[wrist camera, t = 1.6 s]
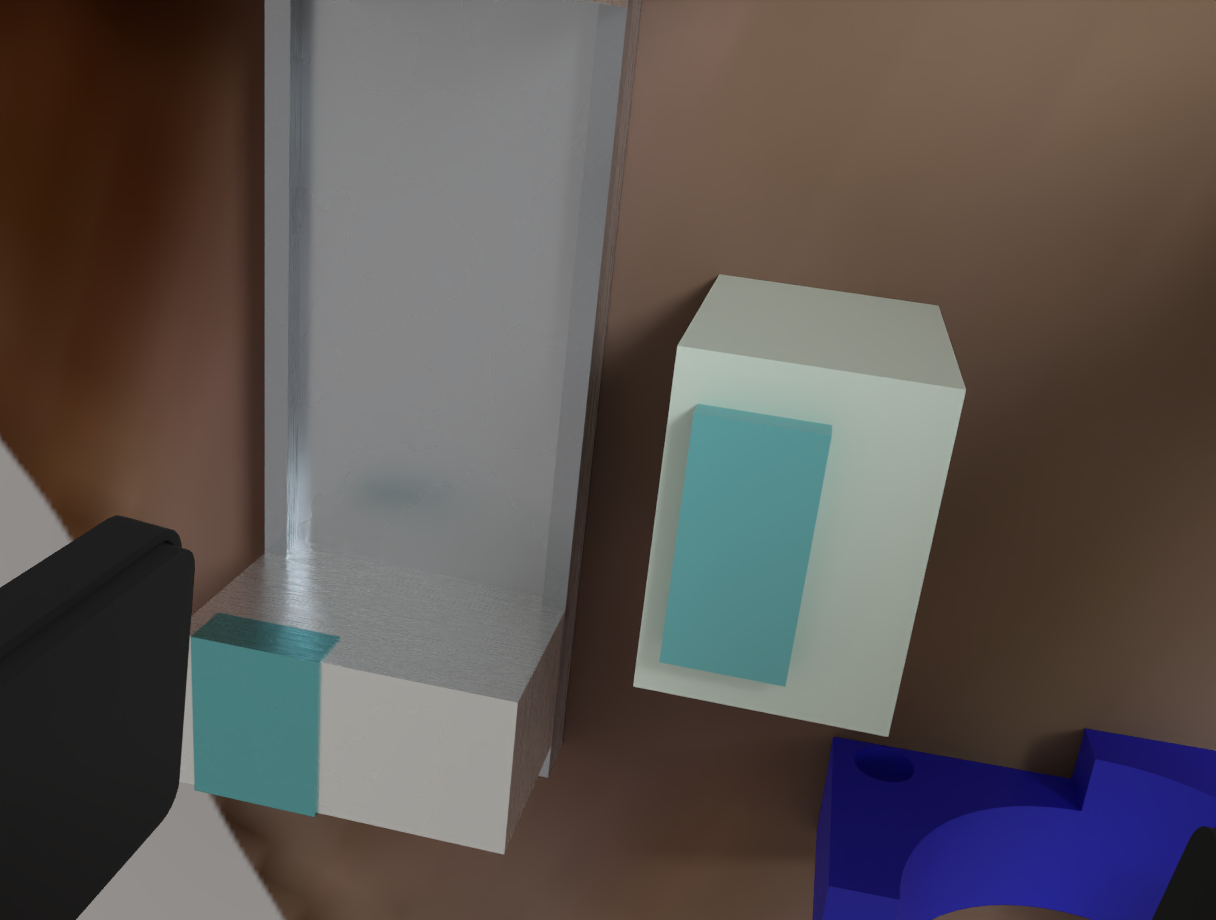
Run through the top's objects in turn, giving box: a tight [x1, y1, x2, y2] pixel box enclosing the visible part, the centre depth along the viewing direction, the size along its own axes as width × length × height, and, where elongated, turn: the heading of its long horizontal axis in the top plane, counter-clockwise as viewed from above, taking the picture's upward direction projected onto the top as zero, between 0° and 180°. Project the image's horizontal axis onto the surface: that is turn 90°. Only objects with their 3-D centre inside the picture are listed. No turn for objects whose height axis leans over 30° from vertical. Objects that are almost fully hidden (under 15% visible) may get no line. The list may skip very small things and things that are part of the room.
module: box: [633, 274, 966, 737], centre depth 24 cm, size 5×7×8 cm
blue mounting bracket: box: [813, 729, 1216, 920], centre depth 27 cm, size 12×4×6 cm, turn 85°
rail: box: [179, 0, 642, 855], centre depth 26 cm, size 8×24×6 cm, turn 174°
